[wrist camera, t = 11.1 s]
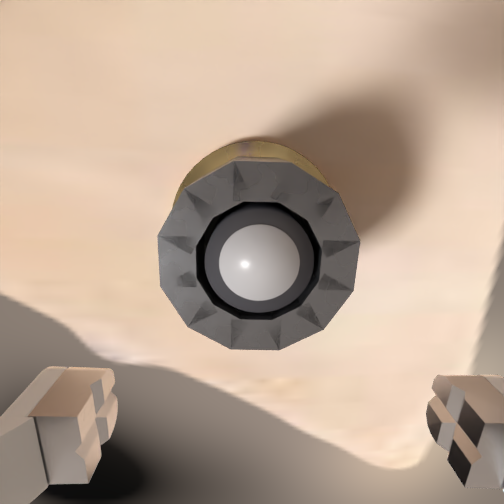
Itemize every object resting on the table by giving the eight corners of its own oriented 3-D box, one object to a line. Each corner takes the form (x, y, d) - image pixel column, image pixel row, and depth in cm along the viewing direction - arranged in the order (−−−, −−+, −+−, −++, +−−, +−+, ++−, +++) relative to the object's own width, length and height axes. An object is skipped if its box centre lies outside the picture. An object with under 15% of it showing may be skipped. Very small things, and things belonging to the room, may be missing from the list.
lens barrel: (291, 107, 24) (316, 86, 15) (360, 257, 28) (411, 307, 19) (141, 193, 26) (88, 216, 17) (224, 323, 29) (214, 397, 21)
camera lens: (277, 181, 21) (284, 188, 17) (317, 261, 22) (332, 284, 19) (194, 225, 21) (183, 242, 18) (239, 299, 23) (237, 330, 19)
